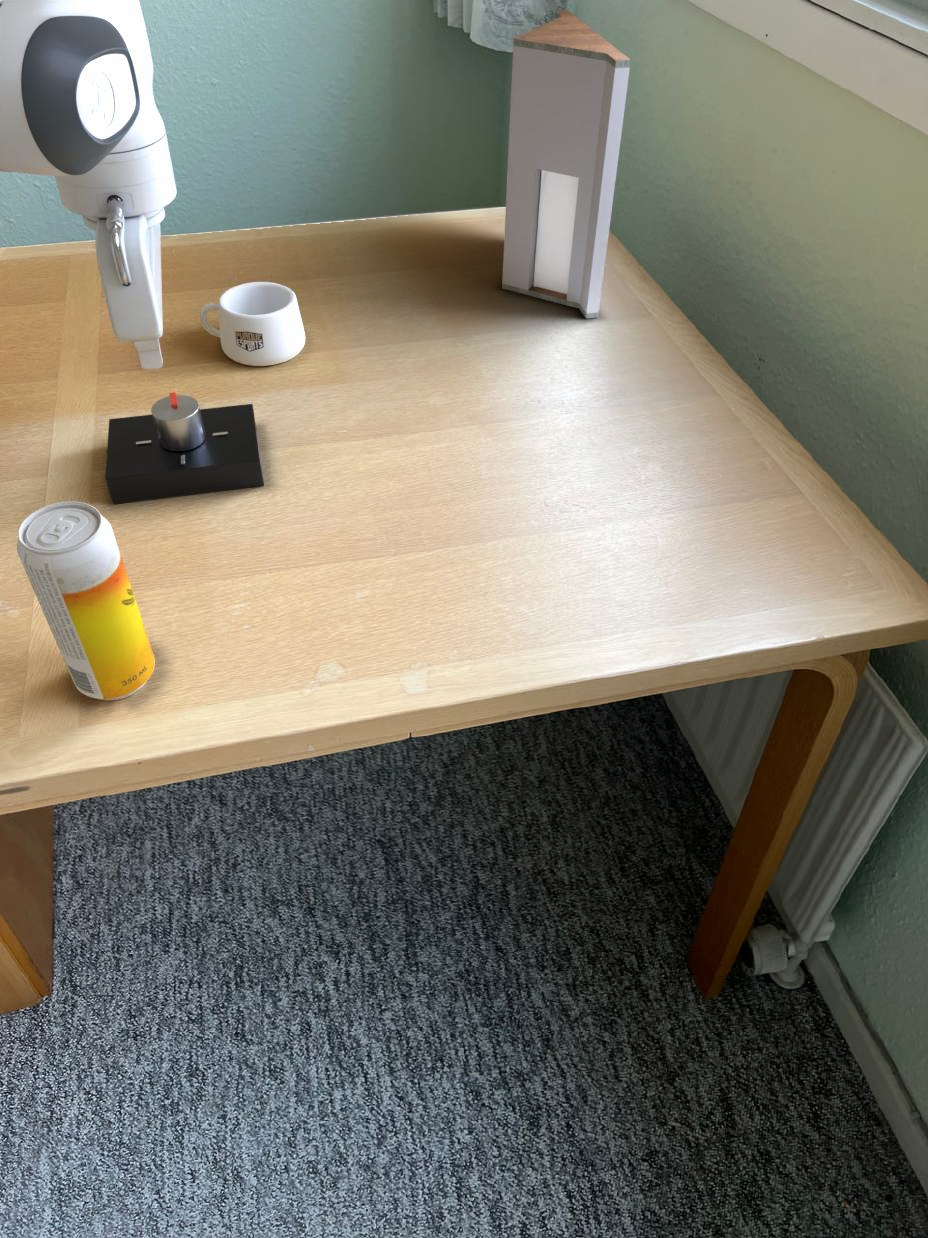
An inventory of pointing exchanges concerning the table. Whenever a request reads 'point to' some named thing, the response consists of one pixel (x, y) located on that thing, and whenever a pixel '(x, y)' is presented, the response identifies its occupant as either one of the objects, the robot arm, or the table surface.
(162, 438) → the knob
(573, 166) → the cabinet
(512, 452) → the table surface
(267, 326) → the mug
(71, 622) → the beer can
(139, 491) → the panel
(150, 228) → the robot arm
